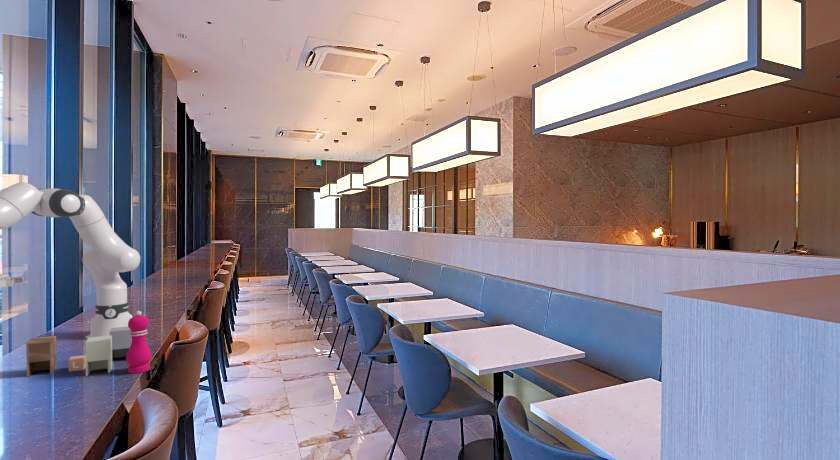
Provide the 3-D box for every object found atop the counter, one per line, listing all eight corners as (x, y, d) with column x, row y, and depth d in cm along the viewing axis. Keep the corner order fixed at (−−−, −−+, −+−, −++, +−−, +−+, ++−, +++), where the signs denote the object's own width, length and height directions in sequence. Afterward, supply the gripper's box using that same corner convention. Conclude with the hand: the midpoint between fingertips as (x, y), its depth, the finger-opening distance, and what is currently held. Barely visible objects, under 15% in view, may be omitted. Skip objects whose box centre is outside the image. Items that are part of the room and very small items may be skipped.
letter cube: (71, 368, 153) (71, 356, 153) (85, 366, 155) (85, 355, 155) (68, 371, 150) (68, 359, 150) (83, 370, 152) (83, 358, 152)
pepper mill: (133, 367, 154) (133, 309, 154) (155, 366, 155) (155, 308, 154) (121, 374, 147) (120, 313, 146) (144, 373, 147) (144, 312, 147)
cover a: (32, 371, 150) (31, 338, 150) (56, 368, 153) (56, 335, 153) (26, 376, 145) (26, 342, 144) (52, 373, 148) (51, 340, 147)
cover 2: (112, 357, 165) (111, 327, 165) (132, 355, 168) (132, 326, 168) (109, 362, 159) (109, 331, 159) (131, 360, 162) (130, 329, 162)
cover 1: (89, 370, 151) (88, 337, 151) (112, 367, 154) (111, 335, 154) (85, 376, 145) (85, 342, 145) (109, 372, 148) (109, 339, 148)
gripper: (-54, 277, 133) (8, 275, 140) (-27, 271, 151) (27, 269, 158) (-54, 299, 133) (8, 295, 140) (-26, 290, 151) (27, 287, 158)
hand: (18, 281), depth 149 cm, fingers open, 8 cm apart
